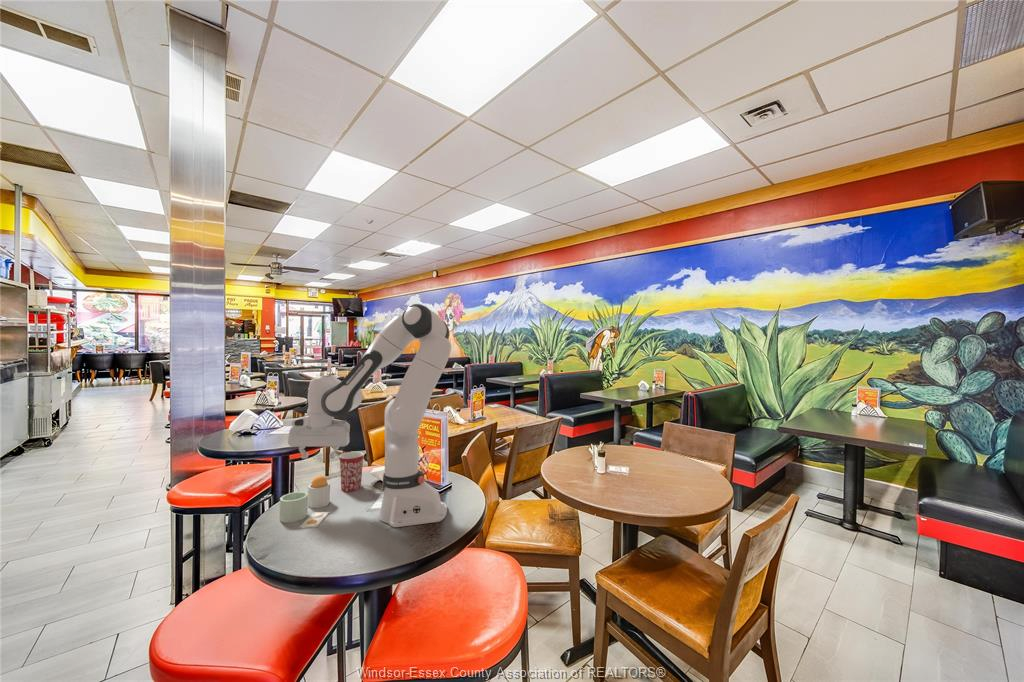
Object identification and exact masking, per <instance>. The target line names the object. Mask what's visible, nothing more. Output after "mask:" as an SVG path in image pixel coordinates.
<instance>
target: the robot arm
mask: <svg viewBox="0 0 1024 682" xmlns="http://www.w3.org/2000/svg"><path fill="white" fill-rule="evenodd" d="M449 337H450V329H449V326H448V324H447V323H446V322H445V321H443V319H441V317H439V315H438V314H437V313H435V312H434V311H432V310H431V309H430V308H429V307H428V306H426V305H423V304H421V303H412V304H410V305H408V306H407V307H406V308H405V309H404V310H403V313H402V314H397V315H396V316H394V317H393V318H391V320H390V321H388V322H387V324H385V326H383V328H382V329H381V330H380V331H379V332H378V333H377V334H376V336H375V337H374V339H373V340H372V341H371V343H370V345H369V347H368V348H367V350H366V351H365V352H364V354H363V355H362V357H361V358H360V359H359V361H358V362H357V363H356V364H355V365H354V366H353V367H352V369H351V370H350V371H349V372H348V373H347V375H345V377H344V378H343V379H342V380H340V379H338V378H336V376H334V375H333V374H327V375H320V376H319V375H318V376H316V377H313V378H312V379H311V380H310V381H309V384H308V385H309V386H308V391H307V403H308V404H307V405H308V406H307V410H306V415H303V416H300V417H298V418H295V419H293V420H292V421H291V426H292V427H290V429H289V432H288V437H287V444H288V446H290V447H298V451H299V452H300V454H301V459H303V460H306V459H308V458H309V452H306V450H305V448H306V447H332V450H333V451H332V452H330V453H329V460H334V459H336V453H337V452H338V450H339V448H340V447H346V446H348V445H349V443H350V429H351V424H350V423H349V422H348V421H347V420H344V419H342V420H338V419H335V418H342V417H345V415H347V414H348V413H349V412H351V411H353V410H354V409H356V408H358V407H359V406H360V405H361V403H362V401H363V399H364V396H363V392H362V390H361V389H362V388H363V386H364V385H365V384H366V383H367V381H368V380H369V379H370V378H371V377H372V375H374V374H375V373H376V372H378V371H380V370H381V369H383V368H385V367H387V366H389V365H391V364H392V363H393V362H394V361H396V360H397V359H398V358H399V357H400V356H401V355H402V354H403V352H404V351H405V350H406V349H407V347H408V346H409V345H410V343H411V342H413V341H415V340H416V341H417V340H418V341H419V347H418V350H417V352H416V354H415V355H414V357H413V359H412V361H411V363H410V365H409V366H408V368H407V370H406V372H405V375H404V377H403V378H402V380H401V381H402V382H401V383H400V387H399V388H398V391H397V393H396V394H395V395H396V396H395V398H393V399H391V400H390V401H389V402H388V403H387V404H386V406H385V408H384V473H383V476H382V491H383V494H382V495H383V496H382V502H381V507H380V511H379V514H378V519H379V520H380V521H381V522H383V523H386V524H388V525H390V526H391V527H392V528H399V527H407V526H416V525H423V524H431V523H439V522H442V521H443V520H444V519H445V518H446V516H447V513H448V506H447V504H446V502H444V501H441V496H440V493H439V491H438V490H437V489H436V488H435V487H433V486H432V485H430V484H429V483H427V482H426V481H425V471H424V470H422V471H421V470H419V455H420V454H419V439H418V437H419V435H418V429H419V428H420V426H421V424H422V420H423V418H424V415H425V414H426V411H427V408H428V405H429V404H430V400H431V398H432V394H433V393H434V390H435V388H436V386H437V384H438V382H439V380H440V378H441V376H442V374H443V371H444V370H445V367H446V365H447V364H448V360H449V358H450V355H451V352H452V343H451V342H450V340H449Z"/></svg>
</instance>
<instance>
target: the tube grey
mask: <svg viewBox="0 0 1024 682" xmlns="http://www.w3.org/2000/svg"><path fill="white" fill-rule="evenodd" d="M307 494H308V508H311V509H319V508H324V507H326V506H328V505H329V504H330V502H331V501H330V500H331V483H330V481H327V484H326V486H324V487H320V488H312V485H311V483H310V484H309V485H308V487H307Z"/></svg>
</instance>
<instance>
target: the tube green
mask: <svg viewBox="0 0 1024 682" xmlns="http://www.w3.org/2000/svg"><path fill="white" fill-rule="evenodd" d="M308 508H309V507H308V492H306V491H294V492H289V493H287V494H283V495H282V496H281V497H280V498H279V522H281V523H288V524H289V523H294V522H299V521H301V520H303V519H305V518H306V517H307V516H308Z"/></svg>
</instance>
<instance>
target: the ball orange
mask: <svg viewBox="0 0 1024 682" xmlns="http://www.w3.org/2000/svg"><path fill="white" fill-rule="evenodd" d="M327 482H328V480H327V478H326V477H325V476H324V475H317V476H315V477H314V478H313V479H312V481H311V483H310V484H311V485H312V488H320V487H324V486H326V484H327Z"/></svg>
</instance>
